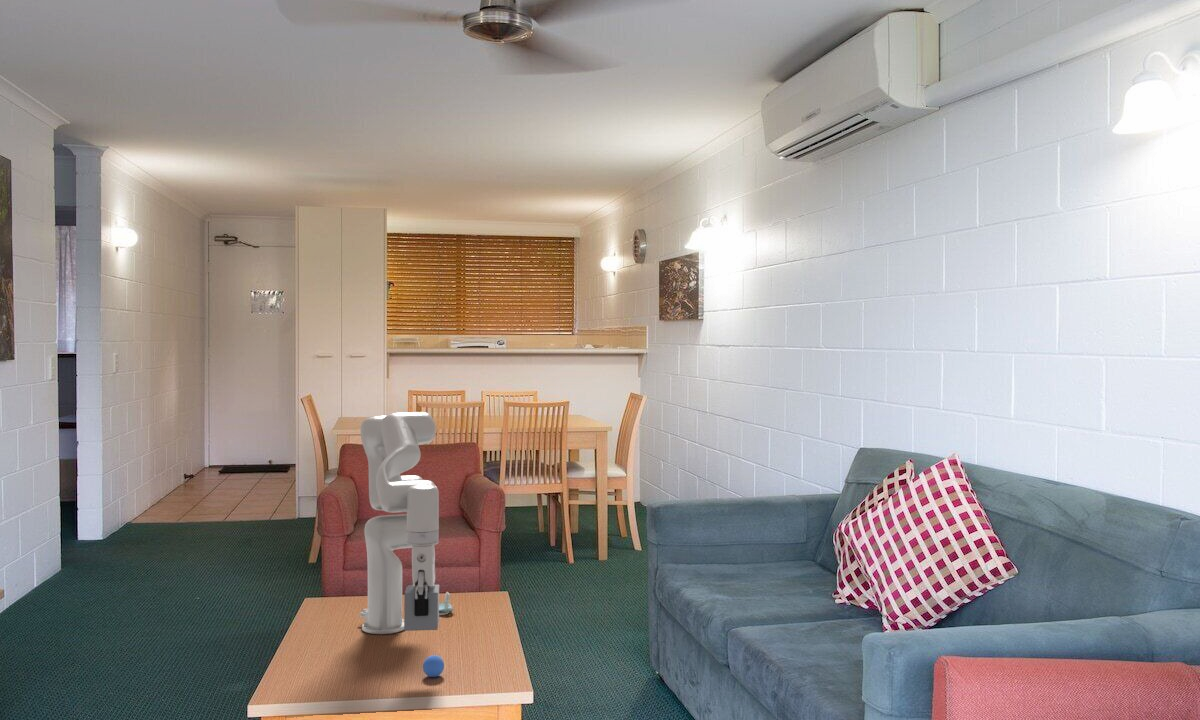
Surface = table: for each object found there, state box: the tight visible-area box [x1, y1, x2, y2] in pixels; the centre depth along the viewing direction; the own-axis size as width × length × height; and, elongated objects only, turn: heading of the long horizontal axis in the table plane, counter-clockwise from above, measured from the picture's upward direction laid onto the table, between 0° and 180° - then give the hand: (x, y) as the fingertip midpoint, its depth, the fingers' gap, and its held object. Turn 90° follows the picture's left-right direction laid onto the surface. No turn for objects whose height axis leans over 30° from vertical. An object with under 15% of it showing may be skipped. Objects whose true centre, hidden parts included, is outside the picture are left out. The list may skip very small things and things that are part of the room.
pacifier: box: [439, 591, 454, 616], centre depth 275 cm, size 7×6×6 cm
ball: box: [422, 654, 445, 678], centre depth 221 cm, size 5×5×5 cm
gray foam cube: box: [403, 584, 440, 632], centre depth 220 cm, size 8×8×9 cm
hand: (422, 610), depth 221 cm, fingers closed on gray foam cube, 7 cm apart
